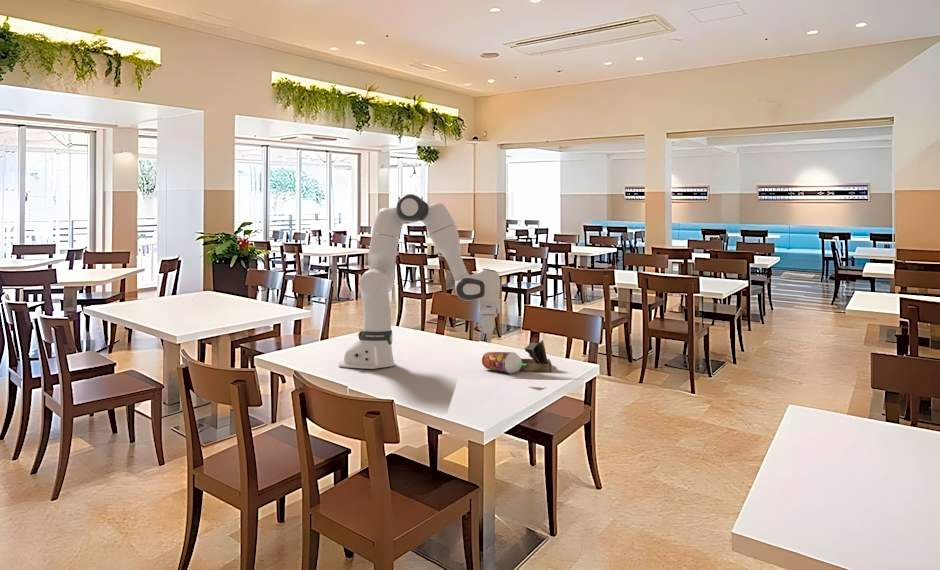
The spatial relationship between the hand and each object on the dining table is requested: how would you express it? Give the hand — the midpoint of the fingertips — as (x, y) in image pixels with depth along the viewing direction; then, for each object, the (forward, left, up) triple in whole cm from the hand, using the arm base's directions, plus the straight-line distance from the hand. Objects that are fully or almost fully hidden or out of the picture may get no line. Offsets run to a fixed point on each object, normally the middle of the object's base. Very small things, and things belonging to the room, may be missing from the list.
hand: (489, 342), depth 251 cm
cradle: (+14, 0, -10) cm, 17 cm away
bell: (+18, +1, -11) cm, 21 cm away
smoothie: (-1, -4, -7) cm, 8 cm away
